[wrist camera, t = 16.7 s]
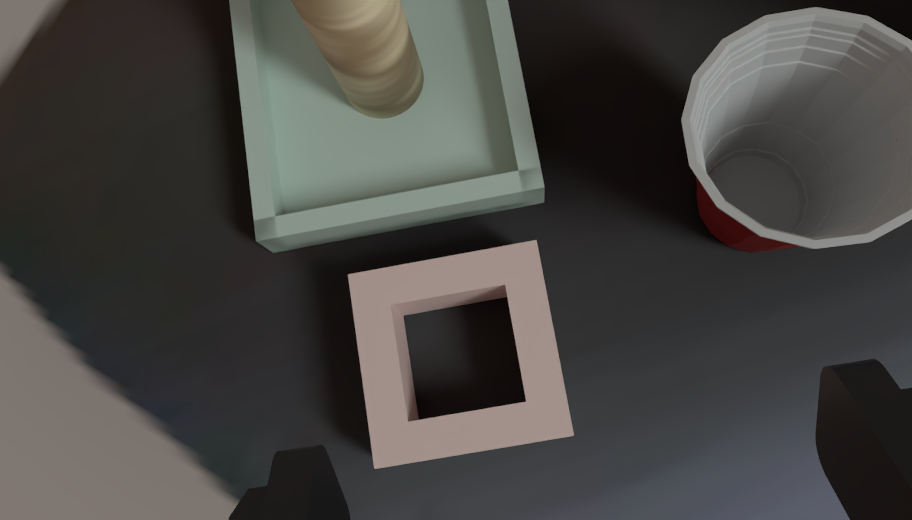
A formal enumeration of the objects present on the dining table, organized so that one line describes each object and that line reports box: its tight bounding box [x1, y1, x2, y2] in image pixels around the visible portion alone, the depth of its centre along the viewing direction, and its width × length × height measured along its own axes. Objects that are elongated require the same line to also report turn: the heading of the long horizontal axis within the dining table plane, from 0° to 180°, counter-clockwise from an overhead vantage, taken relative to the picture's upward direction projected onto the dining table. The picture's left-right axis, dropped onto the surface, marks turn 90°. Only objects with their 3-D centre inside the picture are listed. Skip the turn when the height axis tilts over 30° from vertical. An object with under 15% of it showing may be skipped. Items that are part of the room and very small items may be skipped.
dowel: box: [291, 0, 424, 119], centre depth 41 cm, size 5×5×12 cm
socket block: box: [348, 240, 574, 469], centre depth 43 cm, size 10×10×4 cm
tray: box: [229, 0, 545, 253], centre depth 47 cm, size 16×18×3 cm
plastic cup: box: [681, 7, 912, 253], centre depth 39 cm, size 11×11×12 cm
